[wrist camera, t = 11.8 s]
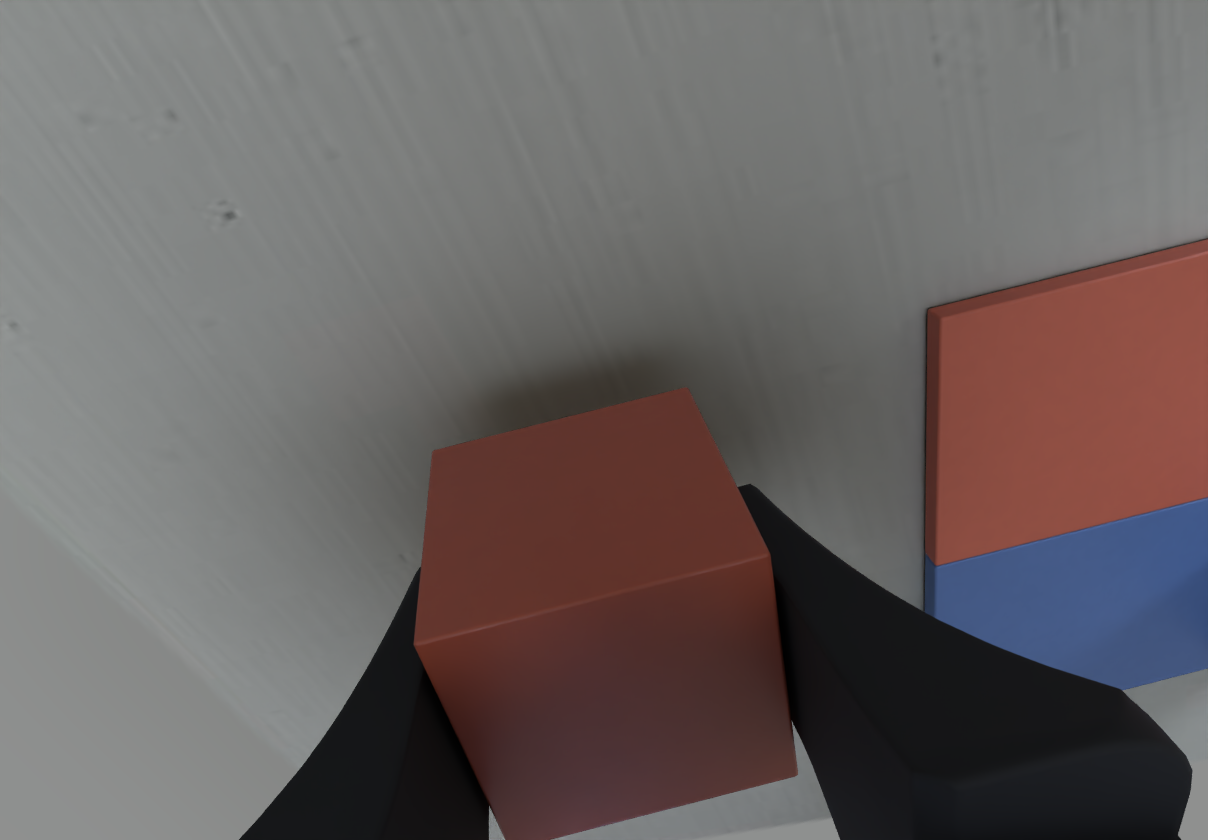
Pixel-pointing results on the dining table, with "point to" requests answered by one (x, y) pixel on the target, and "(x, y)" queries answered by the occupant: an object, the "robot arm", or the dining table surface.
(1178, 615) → the board
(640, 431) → the red block
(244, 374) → the dining table surface
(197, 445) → the dining table surface
